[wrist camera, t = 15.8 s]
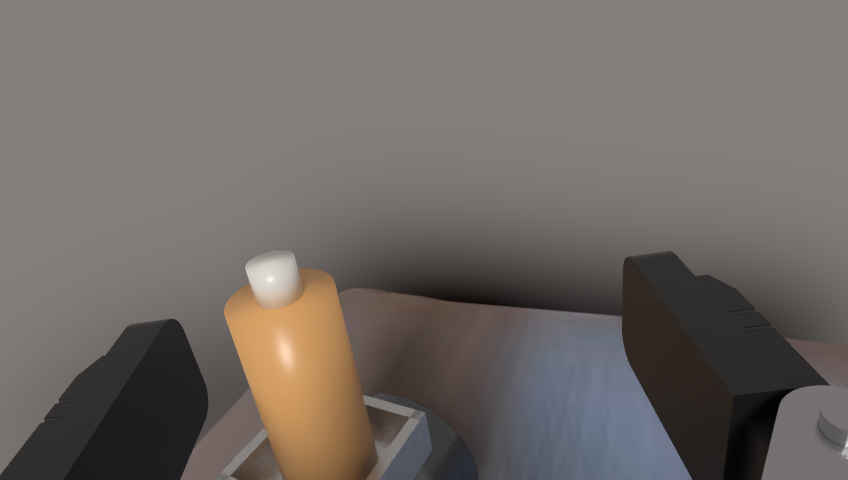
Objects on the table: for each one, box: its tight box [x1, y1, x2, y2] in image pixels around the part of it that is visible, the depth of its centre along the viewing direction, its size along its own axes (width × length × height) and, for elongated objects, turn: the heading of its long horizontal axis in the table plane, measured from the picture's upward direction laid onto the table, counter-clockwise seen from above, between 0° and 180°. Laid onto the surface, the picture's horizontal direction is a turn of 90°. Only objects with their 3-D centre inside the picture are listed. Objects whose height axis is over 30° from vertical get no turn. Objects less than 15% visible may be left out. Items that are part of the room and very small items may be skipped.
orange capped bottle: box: [224, 250, 378, 480], centre depth 31 cm, size 6×6×14 cm
